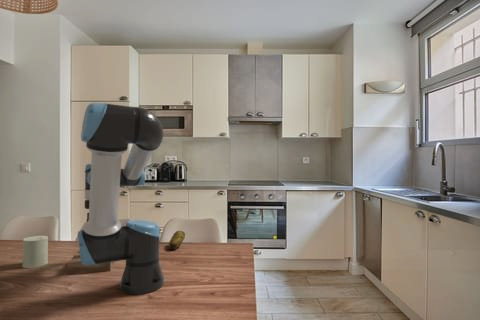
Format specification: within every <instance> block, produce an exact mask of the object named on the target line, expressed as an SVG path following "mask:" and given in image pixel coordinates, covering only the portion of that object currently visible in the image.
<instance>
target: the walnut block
mask: <svg viewBox="0 0 480 320" xmlns="http://www.w3.org/2000/svg"><path fill="white" fill-rule="evenodd" d="M114 263H115V262H109V263H103V264H98V265H89V266H85V265H83V264H82V262H81V257H80V250H78V251H77V252H76V253H75V254H74V256H72V257H71V259H70V260H69V261H68V262H67V263H66V275H77V274H90V273H91V274H92V273H101V272H111V271H112V268H113V266H114Z"/></svg>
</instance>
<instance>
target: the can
mask: <svg viewBox="0 0 480 320" xmlns="http://www.w3.org/2000/svg"><path fill="white" fill-rule="evenodd" d="M48 247H49V236H48V235H34V236H27V237H24V238H22V265H21V267H22V268H23V269H24V268H25V269H35V268H40V267H43V266H45V265H47V264H48V262H49V261H48V260H49V257H48V256H49V255H48V251H49V248H48Z"/></svg>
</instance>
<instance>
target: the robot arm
mask: <svg viewBox="0 0 480 320" xmlns="http://www.w3.org/2000/svg"><path fill="white" fill-rule="evenodd" d="M163 139H164V128H163V125H162V123H161V121H160V119H159V118H158V117H157V115H155V114H154V113H153V112H152V111H150V110H148V109H146V108H144V107H138V106H130V105H129V106H128V105H119V104H112V103H106V102H104V103H103V102H102V103H101V102H92V103H89V104H88V105H87V107H86V108H85V112H84V115H83V121H82V125H81V133H80V140H81V142H83V143H85V145H86V149H87V150H88V151H89V152H90V153H91V162H90V163H87V164H85V167H84V169H85V170H84V185H85V186H84V199H85V200H84V209H86V210H88V212H87V213H86V216H87V217H86V222H85V223H84V224H83V226H82V229H81V230H79V231H77V240H78V248H79V249H78V251H80V257H81V262H82V264H83V265H85V266H89V265H98V264H103V263H109V262H114V263H115V262H119V261H125V267H124V270H123V273H122V275H121V278H120V282H119V283H120V284H119V290H120V291H121V292H123V293H125V294H128V295H143V294H148V293H151V292H155V291H157V290H159V289H160V287H161V288H162V287H163V286H164V284H165V277H164V273H163V271H162V266H161V265H160V237H161V233H160V226H159V225H158V223H156V222H155V221H154V222H153V221H150V220H149V221H147V220H139V219H138V220H137V219H135V220H128V221H127V222H126V223H125V225H124V226H122V222H121V221H119V220H118V215H119V214H118V212H119V199H120V187H137V186H143V185H144V184H145V181H146V173H145V168H146V167H147V165H148V163H149V161H150V158H151V157H152V155H153V153H154V151H155V150H158V148H159V147H160V146H161V144H162V142H163ZM130 144H132V146H131V148H130V150H129V153H128V156H127V159H126V162H125V164H124V167H123V168H122V160H123V159H122V156H123V154H124V153H126V152H127V151H128V148H129V146H128V145H130Z"/></svg>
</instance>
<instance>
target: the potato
mask: <svg viewBox="0 0 480 320" xmlns="http://www.w3.org/2000/svg"><path fill="white" fill-rule="evenodd" d="M185 233H186V232H185V231H183V230H177V231H175V232H174V233H173V235H172V236H171V238H170V240H169V243H168V247H169V249H171V250H176V249H178V248H179V247H180V246H181V244H182V243H184V242H183V241H185V237H186V234H185Z"/></svg>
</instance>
